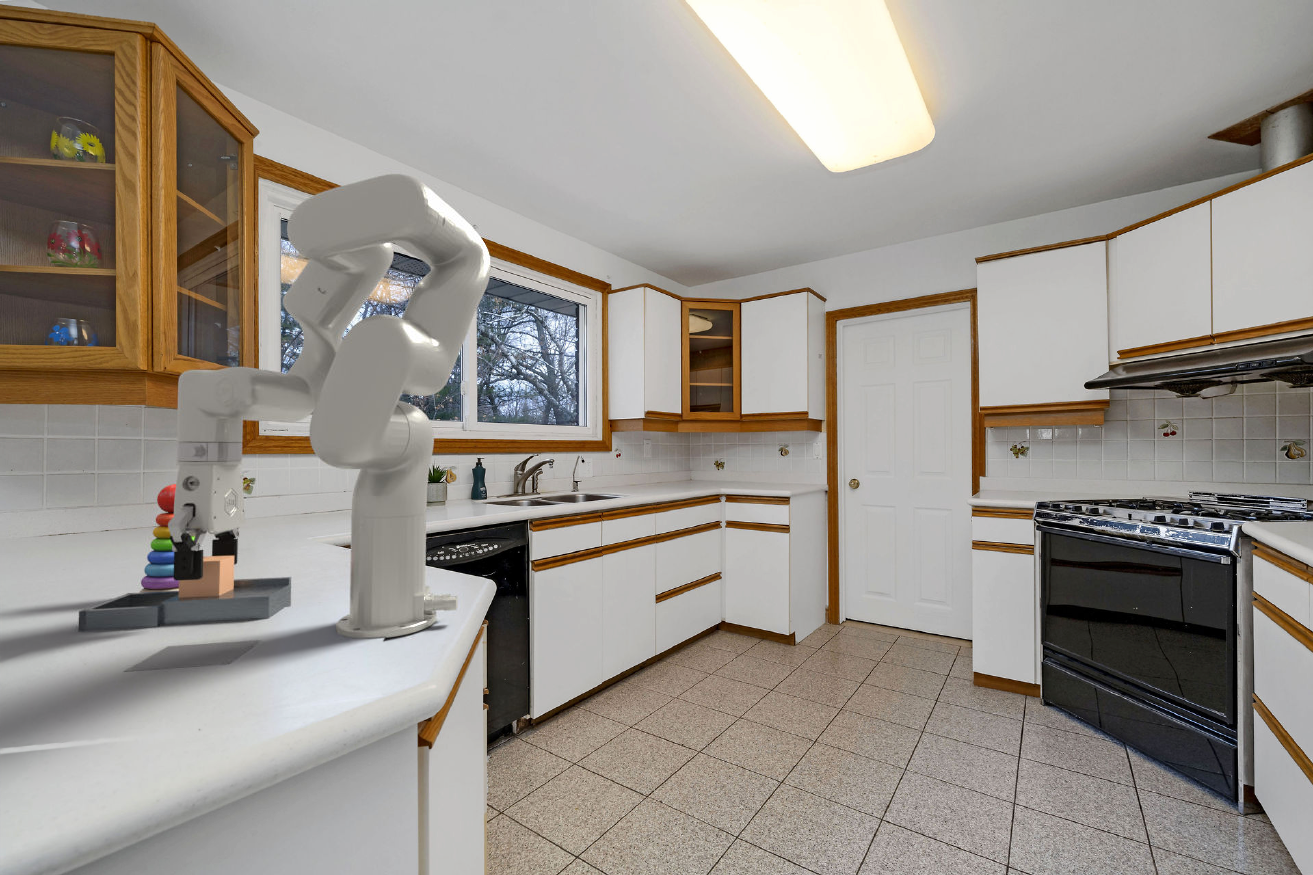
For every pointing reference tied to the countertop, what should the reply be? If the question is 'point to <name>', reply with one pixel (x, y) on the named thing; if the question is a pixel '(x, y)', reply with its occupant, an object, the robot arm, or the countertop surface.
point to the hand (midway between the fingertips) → (207, 571)
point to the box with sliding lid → (189, 606)
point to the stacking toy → (162, 548)
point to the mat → (194, 655)
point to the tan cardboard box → (211, 578)
